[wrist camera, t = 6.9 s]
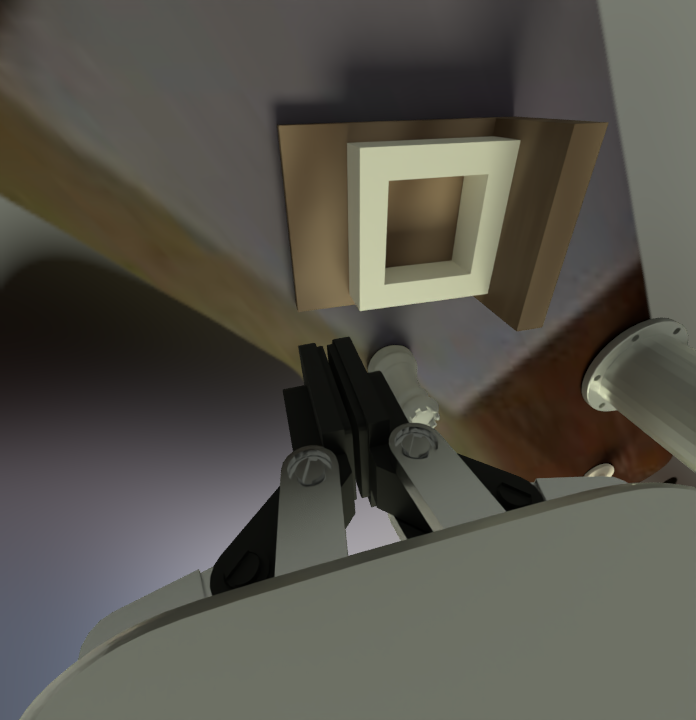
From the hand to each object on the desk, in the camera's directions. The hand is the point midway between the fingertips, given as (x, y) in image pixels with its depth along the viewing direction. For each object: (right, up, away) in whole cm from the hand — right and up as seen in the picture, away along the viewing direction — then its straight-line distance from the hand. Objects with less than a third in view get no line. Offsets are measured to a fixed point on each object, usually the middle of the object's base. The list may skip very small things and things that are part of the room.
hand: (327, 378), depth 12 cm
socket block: (+6, +10, +14) cm, 19 cm away
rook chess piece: (+5, 0, +23) cm, 23 cm away
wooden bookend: (+4, +11, +15) cm, 19 cm away
